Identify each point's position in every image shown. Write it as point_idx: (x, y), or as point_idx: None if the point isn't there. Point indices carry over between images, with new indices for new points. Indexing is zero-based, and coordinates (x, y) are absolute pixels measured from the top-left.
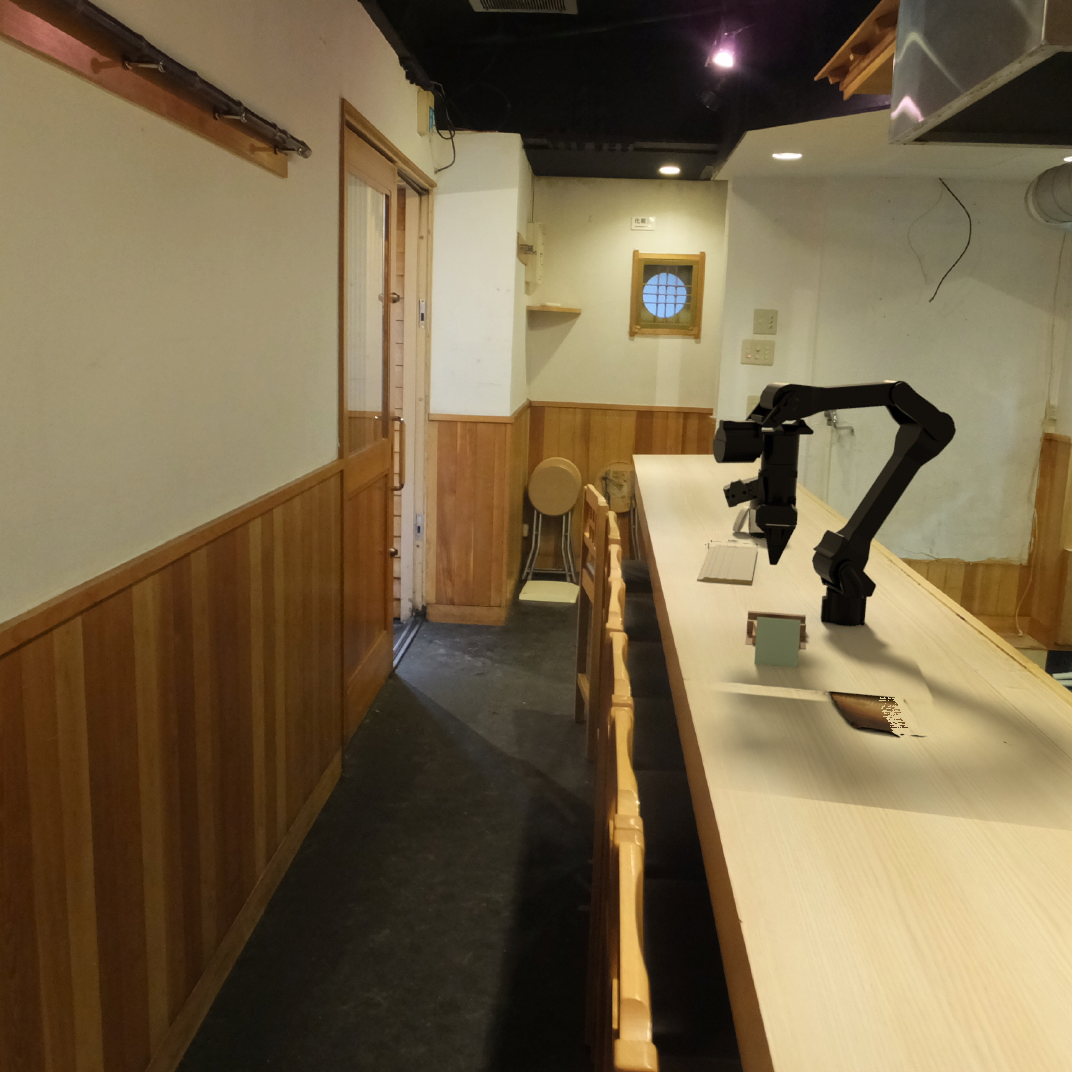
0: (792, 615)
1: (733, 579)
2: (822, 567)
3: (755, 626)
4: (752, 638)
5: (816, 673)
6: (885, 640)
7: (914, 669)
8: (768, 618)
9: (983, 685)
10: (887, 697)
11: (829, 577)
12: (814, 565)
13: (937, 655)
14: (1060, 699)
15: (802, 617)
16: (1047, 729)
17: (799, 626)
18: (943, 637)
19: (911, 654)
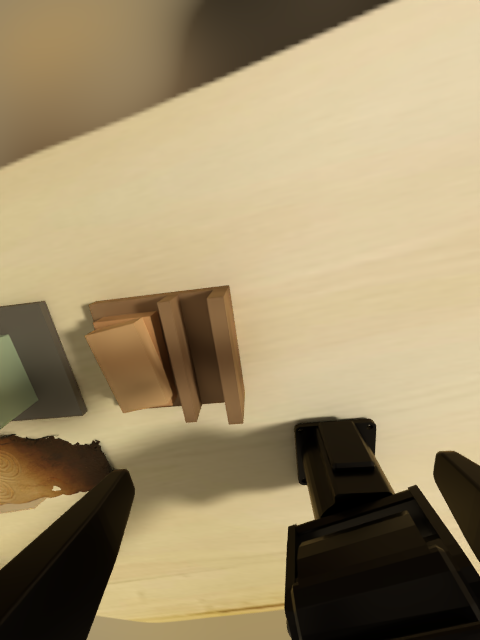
0: (225, 399)
1: None
2: (343, 571)
3: (96, 332)
4: (97, 320)
5: (52, 421)
6: (273, 501)
7: (149, 524)
8: None
9: (131, 575)
10: (10, 498)
11: (299, 556)
12: (408, 541)
13: (226, 549)
14: (128, 618)
15: (228, 416)
16: None
17: None
18: None
19: (215, 525)
